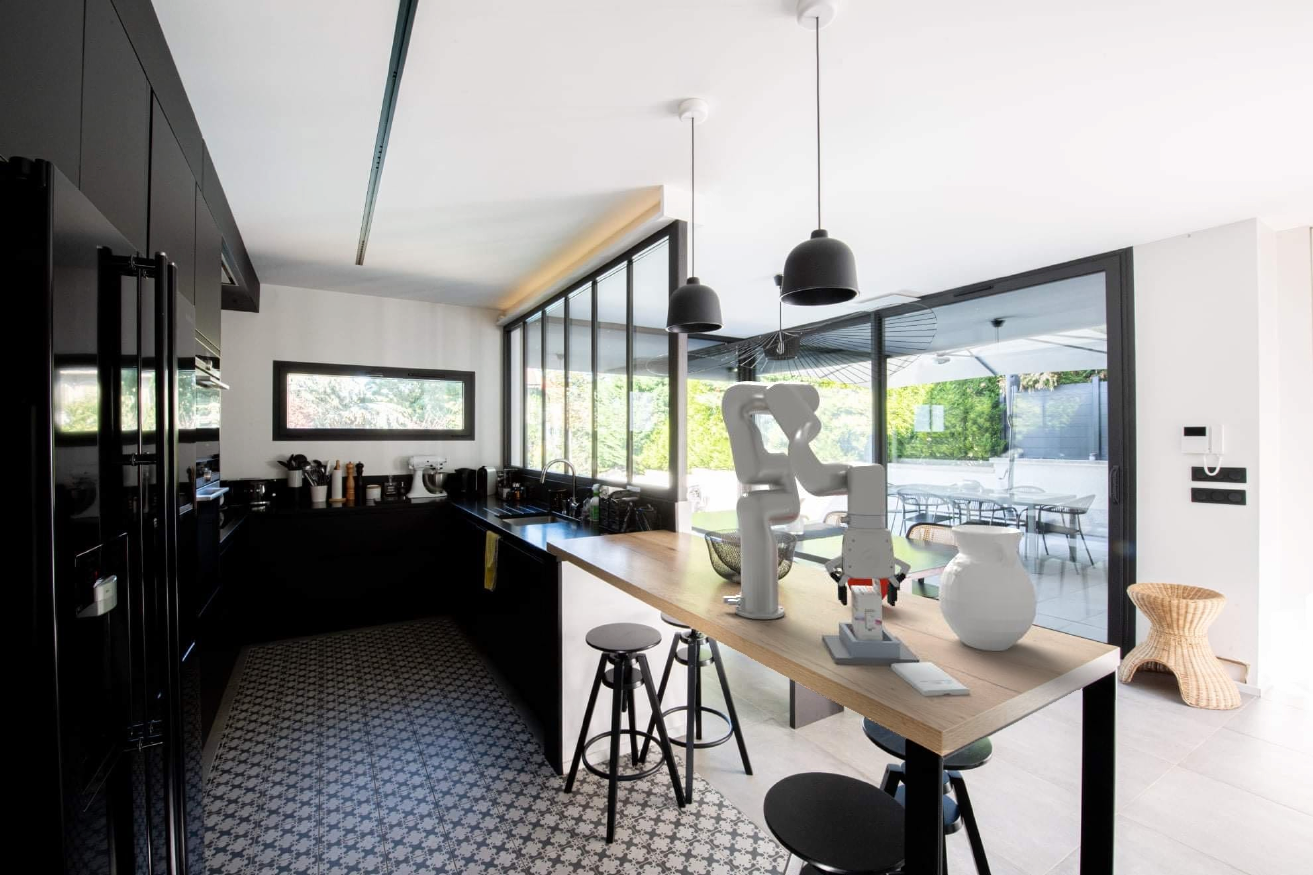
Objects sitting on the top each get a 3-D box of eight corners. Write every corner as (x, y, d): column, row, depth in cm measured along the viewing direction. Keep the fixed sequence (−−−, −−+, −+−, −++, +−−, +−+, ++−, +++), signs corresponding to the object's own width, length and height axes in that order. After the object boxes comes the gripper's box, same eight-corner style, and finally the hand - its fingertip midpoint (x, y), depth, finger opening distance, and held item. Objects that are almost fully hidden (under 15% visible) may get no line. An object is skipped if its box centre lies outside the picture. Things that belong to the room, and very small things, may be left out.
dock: (835, 663, 117) (835, 642, 117) (822, 640, 131) (822, 621, 131) (919, 665, 115) (919, 644, 116) (896, 641, 129) (896, 622, 129)
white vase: (1058, 657, 120) (1057, 533, 120) (971, 660, 118) (969, 535, 119) (999, 628, 138) (997, 521, 138) (923, 630, 137) (921, 523, 137)
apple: (900, 611, 153) (900, 559, 153) (855, 611, 153) (854, 560, 153) (883, 599, 164) (883, 551, 165) (841, 599, 165) (840, 551, 165)
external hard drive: (931, 670, 115) (969, 697, 102) (890, 671, 114) (924, 698, 102) (931, 661, 115) (969, 687, 102) (890, 663, 114) (924, 689, 102)
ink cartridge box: (850, 638, 128) (849, 571, 128) (874, 639, 127) (873, 571, 127) (857, 652, 119) (857, 580, 120) (883, 653, 119) (882, 580, 119)
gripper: (827, 524, 121) (828, 608, 120) (915, 524, 119) (916, 610, 119) (820, 519, 128) (821, 598, 128) (903, 520, 126) (904, 600, 126)
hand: (867, 604), depth 123 cm, fingers open, 9 cm apart
